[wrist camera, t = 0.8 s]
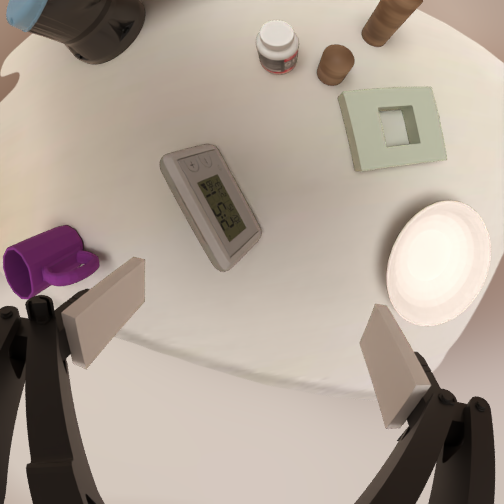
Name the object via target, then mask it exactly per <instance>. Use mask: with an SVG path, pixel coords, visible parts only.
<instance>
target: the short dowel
mask: <svg viewBox="0 0 504 504" xmlns="http://www.w3.org/2000/svg"><path fill="white" fill-rule="evenodd" d="M353 65H354V56H353V54H352V52H351V51H350V50H349V49H348V48H346V47H344V46H342V45H330V46H328V47H327V48H326V49H325V50H324V52H323V55H322V57H321V60H320V63H319V66H318V69H317V75H318V78H319V79H320V80H321V81H322V82H323V83H324V84H327V85H330V86H334V85H338V84H340V83H341V82H342V81H343V79H344V78H345V76H346V75H347V74H348V72H349V71H350V70H351V68H352V67H353Z"/></svg>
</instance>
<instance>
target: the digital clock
mask: <svg viewBox="0 0 504 504" xmlns="http://www.w3.org/2000/svg"><path fill="white" fill-rule="evenodd" d="M160 169H161V172H162V174H163V176H164V178H165V180H166V182H167V184H168V186H169V187H170V189H171V191H172V193H173V195H174V197H175V199H176V200H177V202H178V204H179V206H180V208H181V210H182V211H183V213H184V215H185V217H186V219H187V221H188V222H189V224H190V226H191V228H192V230H193V231H194V233H195V235H196V237H197V238H198V240H199V242H200V244H201V246H202V247H203V249H204V251H205V252H206V254H207V256H208V258H209V259H210V261H211V263H212V264H213V266H214V267H215V268H216V269H218V270H219V271H222V272H226V271H229V270H230V269H231V268H232V267H233V266H234V265H235V264H236V263H237V262H238V261H239V260H240V259H241V258H242V257H243V256H244V255H245V254H246V253H247V252H248V251H249V250H250V249H251V248H252V247H253V246H254V245H255V244H256V243H257V242H258V241H259V239H260V236H261V229H260V227H259V225H258V223H257V221H256V219H255V217H254V215H253V214H252V212H251V210H250V208H249V206H248V204H247V202H246V200H245V199H244V197H243V195H242V193H241V191H240V189H239V187H238V185H237V184H236V182H235V180H234V178H233V176H232V174H231V172H230V170H229V169H228V167H227V165H226V163H225V161H224V159H223V158H222V156H221V154H220V152H219V150H218V149H217V147H216V146H214V145H210V144H204V145H200V146H195V147H191V148H187V149H183V150H179V151H175V152H171V153H168V154H166V155H164V156H163V157H162V158H161V160H160Z"/></svg>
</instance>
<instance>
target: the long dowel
mask: <svg viewBox="0 0 504 504" xmlns="http://www.w3.org/2000/svg"><path fill="white" fill-rule="evenodd" d="M422 2H423V0H380V2H379V4H378V5H377V7H376V9H375V10H374V12H373V13H372V15H371V17H370V18H369V20H368V22H367V23H366V25H365V27H364V28H363V30H362V37H363V39H364V40H365V41H366V42H367V43H368V44H370V45H372V46H375V47H380V46H383V45H384V44H385V43H386V42H387V40H388V39H389V38H390V37H391V36H392V35H393V34H394V33H395V32H396V30H397V29H398V28H399V27H400V26H401V25H402V24H403V23H404V22H405V21H406V20H407V18H408V17H409V16H410V15H411V14H412V13H413V12H414V11H415V10H416V9H417V7H419V6H420V5H421V3H422Z"/></svg>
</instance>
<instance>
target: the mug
mask: <svg viewBox="0 0 504 504" xmlns="http://www.w3.org/2000/svg"><path fill="white" fill-rule="evenodd" d="M81 264H85V265H83V266H81V267H79V266H80V265H81ZM78 267H79V268H78ZM98 268H99V258H98V256H96V255H95V254H93V253H91V252H88V251H83V243H82V240H81V238H80V237H79V235H78V234H77V232H76V230H74V229H73V228H71V227H69V226H67V225H65V226H59V227H56V228H53V229H51V230H48V231H46V232H43V233H41V234H38V235H36V236H33V237H31V238H29V239H26V240H24V241H22V242H19V243H17V244H15V245H12V246H10V247H8V248H7V249H6V251H5V253H4V256H3V269H4V272H5V276H6V279H7V282H8V283H9V285H10V287H11V288H12V290H13V292H14V293H15V294H17V295H18V296H19V297H20V298H21V299H30V298H32V297H34V296H35V295H37V294H38V293H40V292H41V291H43V290H44V289H46V288H47V287H49V286H50V285H54V286H66V285H71V284H74V283H77V282H79V281H81V280H83V279H85V278H87V277H89V276H90V275H91V274H93V273H94V272H95V271H96V270H97V269H98Z"/></svg>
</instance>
